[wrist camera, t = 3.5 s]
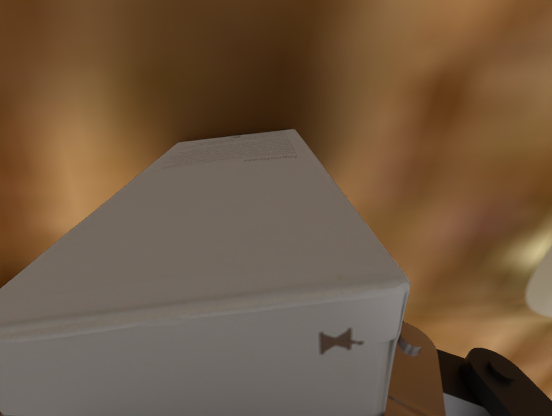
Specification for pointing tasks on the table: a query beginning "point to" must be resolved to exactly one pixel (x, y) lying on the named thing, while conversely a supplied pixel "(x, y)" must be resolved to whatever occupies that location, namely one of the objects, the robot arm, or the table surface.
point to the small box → (208, 295)
